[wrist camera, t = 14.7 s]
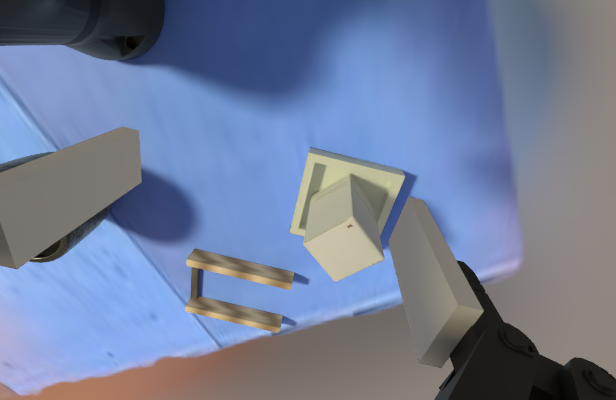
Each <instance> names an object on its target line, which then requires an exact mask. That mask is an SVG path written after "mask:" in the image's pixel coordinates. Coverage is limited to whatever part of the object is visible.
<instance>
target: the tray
mask: <svg viewBox="0 0 616 400" xmlns="http://www.w3.org/2000/svg"><path fill="white" fill-rule="evenodd" d="M349 173H350V174H351V175H352V177H353V178H354V179H355V181H356V182H357V184H358V185H359V187H360V188H361V189H362V191H363V192H364V194H365V195H366V197H367V198H368V200H369V201H370V203H371V204H372V206H373V207H374V212H375V217H376V221H377V226H378V230H379V235H380V236H381V233H382V231H383V228H384V226H385V224H386V221H387V219H388V217H389V214H390V212H391V209H392V207H393V205H394V202H395V200H396V198H397V195H398V193H399V191H400V188H401V186H402V183H403V181H404V179H405V174H404V173H403V171H402V170H400V169H396V168H392V167H388V166H384V165H380V164H376V163H372V162H368V161H364V160H360V159H356V158H352V157H348V156H344V155H340V154H336V153H331V152H327V151H323V150H319V149H315V148H311V147H310V149H309V153H308V157H307V161H306V166H305V170H304V174H303V178H302V183H301V187H300V191H299V195H298V200H297V204H296V208H295V212H294V217H293V221H292V225H291V229H290V233H293V234H297V235H301V236H305V232H306V225H307V220H308V213H309V207H310V201H311V196H312V195H314V194H315V193H317V192H319V191H321V190H322V189H324V188H326V187H327V186H329V185H331V184H332V183H334V182H336V181H337V180H339V179H341V178H342V177H344V176H346V175H348V174H349Z"/></svg>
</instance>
